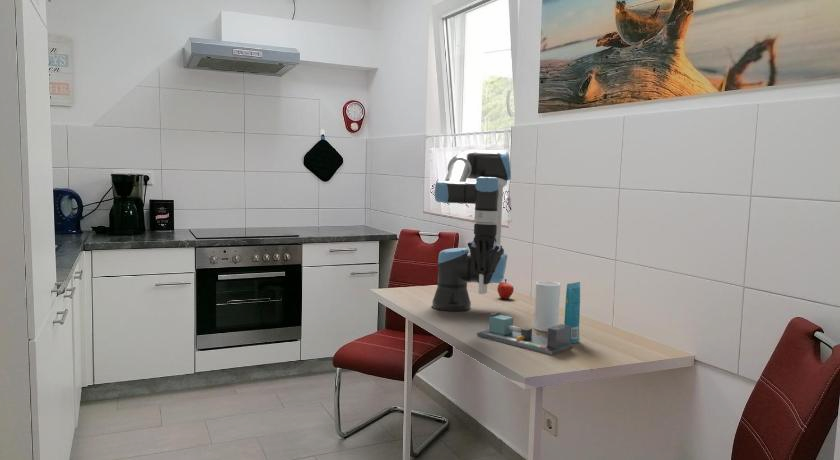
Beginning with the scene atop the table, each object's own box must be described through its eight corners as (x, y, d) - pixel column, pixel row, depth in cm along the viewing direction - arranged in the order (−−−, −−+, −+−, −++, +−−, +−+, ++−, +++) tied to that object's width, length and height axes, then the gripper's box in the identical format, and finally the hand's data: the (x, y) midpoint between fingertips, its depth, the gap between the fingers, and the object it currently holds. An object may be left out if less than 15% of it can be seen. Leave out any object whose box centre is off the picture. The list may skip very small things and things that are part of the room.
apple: (511, 297, 267) (512, 274, 266) (514, 300, 260) (515, 277, 259) (493, 296, 267) (494, 273, 266) (496, 300, 260) (497, 276, 259)
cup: (544, 332, 210) (546, 286, 208) (529, 326, 217) (531, 281, 215) (563, 330, 214) (565, 284, 212) (547, 324, 221) (549, 280, 219)
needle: (514, 340, 194) (514, 331, 194) (526, 336, 199) (526, 327, 199) (519, 341, 193) (520, 332, 192) (531, 338, 198) (532, 328, 197)
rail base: (477, 335, 203) (478, 314, 202) (498, 329, 212) (499, 309, 211) (552, 355, 184) (553, 331, 183) (572, 347, 193) (573, 324, 192)
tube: (569, 337, 204) (572, 280, 202) (582, 340, 201) (586, 282, 199) (558, 342, 199) (561, 283, 197) (572, 345, 195) (575, 285, 194)
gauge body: (488, 331, 204) (489, 314, 204) (497, 328, 208) (498, 311, 207) (516, 338, 197) (517, 320, 196) (525, 335, 200) (526, 318, 200)
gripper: (463, 222, 207) (460, 291, 210) (494, 225, 199) (491, 297, 201) (476, 221, 213) (474, 289, 215) (508, 224, 204) (505, 294, 206)
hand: (482, 293), depth 208 cm, fingers closed
